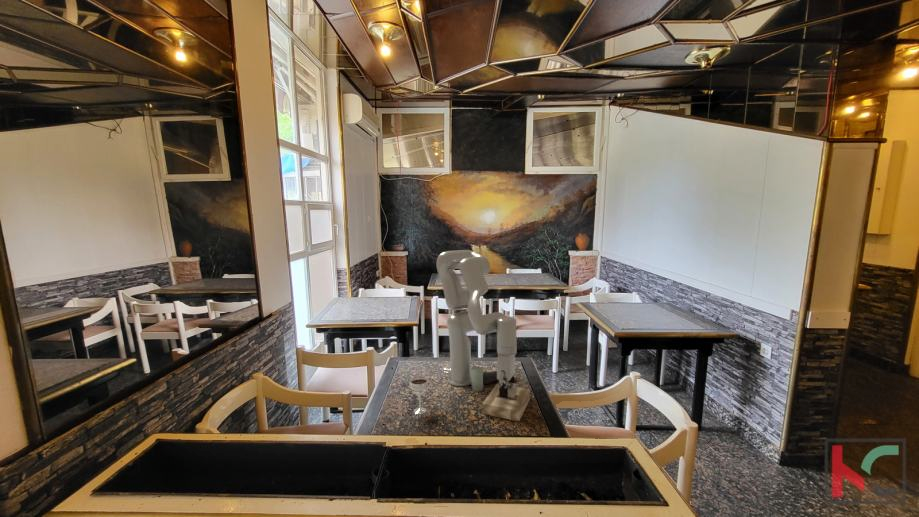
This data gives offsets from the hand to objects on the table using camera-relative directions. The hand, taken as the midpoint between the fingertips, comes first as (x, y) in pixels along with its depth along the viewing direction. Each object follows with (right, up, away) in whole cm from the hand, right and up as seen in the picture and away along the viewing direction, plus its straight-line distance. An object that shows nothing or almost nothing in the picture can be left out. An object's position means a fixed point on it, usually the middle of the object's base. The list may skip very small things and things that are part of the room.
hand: (507, 391), depth 132 cm
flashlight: (-1, -4, +23) cm, 23 cm away
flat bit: (0, -6, +1) cm, 6 cm away
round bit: (-11, -5, +15) cm, 19 cm away
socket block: (0, -6, 0) cm, 6 cm away
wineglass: (-34, -7, -2) cm, 35 cm away
